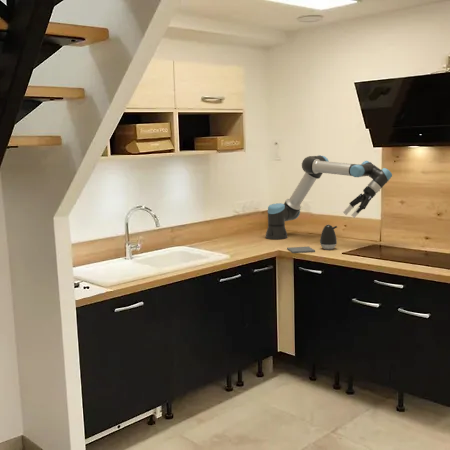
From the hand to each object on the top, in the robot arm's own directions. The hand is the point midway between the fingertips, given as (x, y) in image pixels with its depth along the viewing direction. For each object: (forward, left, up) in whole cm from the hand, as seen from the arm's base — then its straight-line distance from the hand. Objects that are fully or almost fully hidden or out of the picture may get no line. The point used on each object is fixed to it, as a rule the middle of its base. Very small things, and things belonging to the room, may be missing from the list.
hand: (348, 215), depth 358 cm
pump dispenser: (-1, -13, -21) cm, 24 cm away
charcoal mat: (0, -31, -21) cm, 37 cm away
